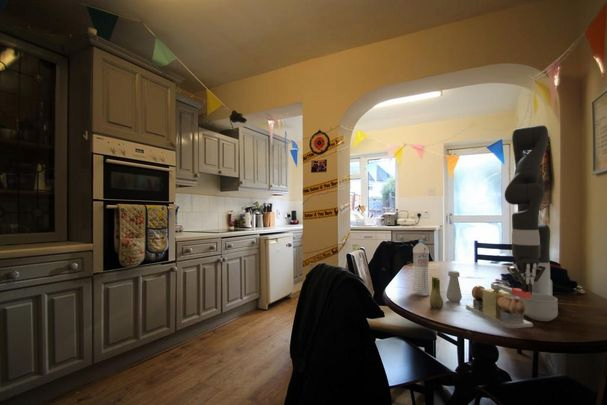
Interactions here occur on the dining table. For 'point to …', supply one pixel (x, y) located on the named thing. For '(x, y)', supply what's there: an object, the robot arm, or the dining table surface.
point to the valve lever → (512, 290)
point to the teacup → (541, 307)
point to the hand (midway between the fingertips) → (527, 294)
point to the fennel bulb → (436, 294)
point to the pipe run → (499, 307)
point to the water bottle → (421, 269)
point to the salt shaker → (454, 287)
